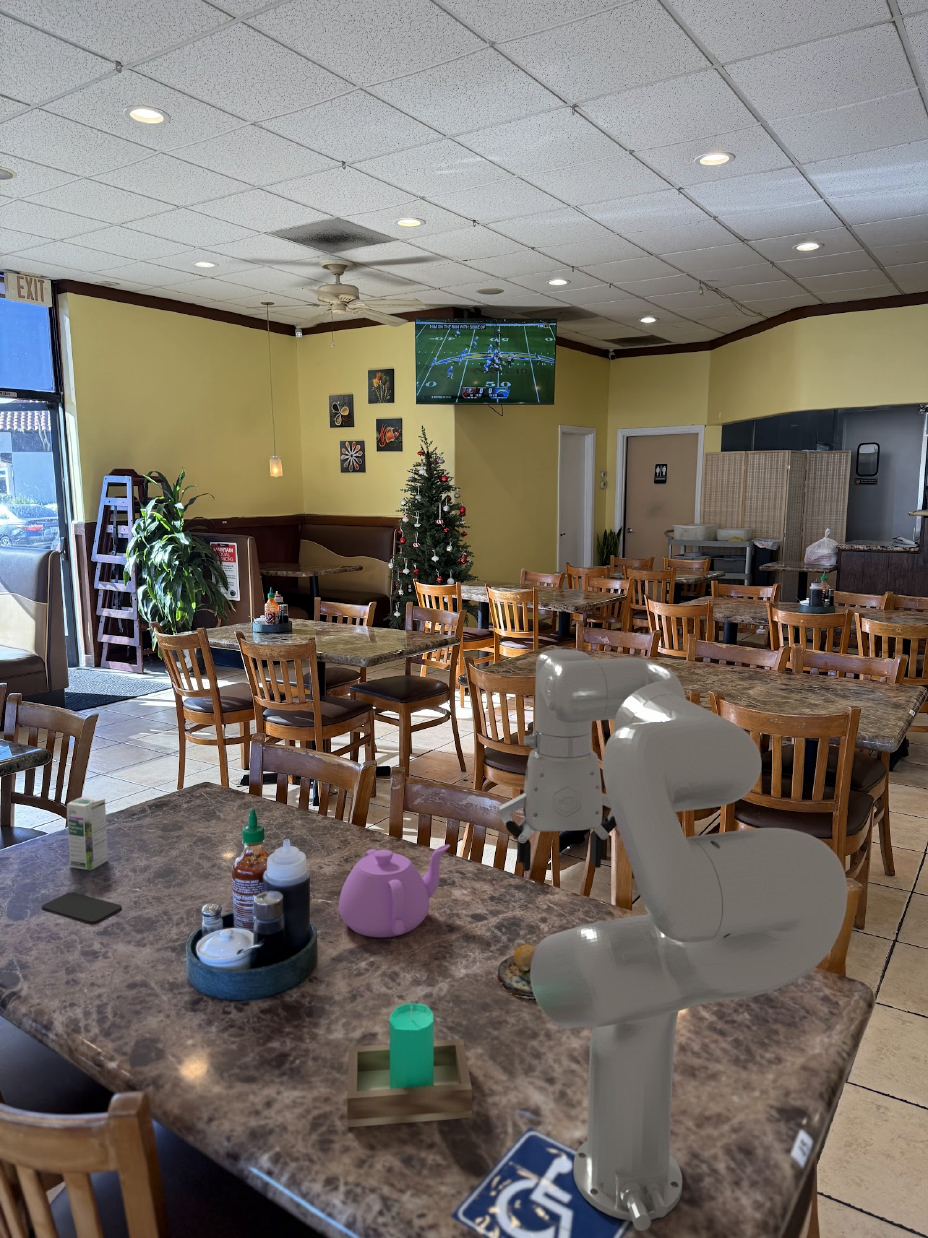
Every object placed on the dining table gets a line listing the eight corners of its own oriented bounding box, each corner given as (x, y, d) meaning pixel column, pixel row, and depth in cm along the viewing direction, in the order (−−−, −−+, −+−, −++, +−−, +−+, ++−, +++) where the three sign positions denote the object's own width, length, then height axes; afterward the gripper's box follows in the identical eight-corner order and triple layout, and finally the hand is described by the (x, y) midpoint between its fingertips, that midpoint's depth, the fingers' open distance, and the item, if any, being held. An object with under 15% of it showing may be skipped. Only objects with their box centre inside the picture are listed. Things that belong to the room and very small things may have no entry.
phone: (70, 891, 174) (124, 905, 167) (71, 895, 174) (124, 909, 167) (38, 906, 167) (93, 922, 160) (39, 910, 167) (93, 926, 160)
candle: (411, 1067, 119) (411, 987, 118) (443, 1087, 115) (443, 1005, 114) (380, 1089, 115) (379, 1007, 113) (411, 1110, 111) (411, 1025, 109)
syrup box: (68, 868, 185) (64, 804, 183) (88, 857, 191) (84, 795, 189) (90, 871, 183) (86, 806, 181) (109, 860, 189) (106, 797, 187)
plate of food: (564, 1005, 136) (565, 962, 135) (491, 996, 138) (492, 953, 137) (570, 965, 147) (571, 925, 146) (503, 958, 150) (503, 918, 149)
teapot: (470, 936, 157) (470, 865, 155) (355, 959, 149) (353, 884, 147) (430, 886, 177) (430, 822, 175) (327, 904, 169) (325, 837, 167)
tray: (462, 1062, 122) (462, 1038, 121) (472, 1117, 111) (472, 1091, 110) (349, 1070, 120) (348, 1045, 119) (347, 1127, 109) (347, 1100, 108)
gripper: (503, 753, 109) (501, 880, 111) (634, 749, 111) (630, 874, 113) (494, 737, 116) (493, 857, 119) (617, 733, 118) (614, 851, 121)
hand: (560, 865), depth 116 cm, fingers open, 9 cm apart
